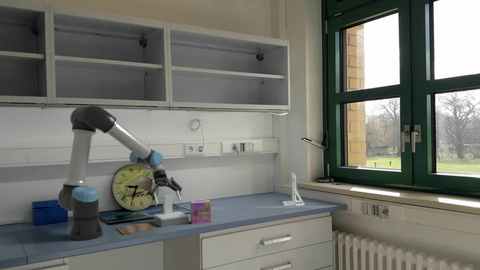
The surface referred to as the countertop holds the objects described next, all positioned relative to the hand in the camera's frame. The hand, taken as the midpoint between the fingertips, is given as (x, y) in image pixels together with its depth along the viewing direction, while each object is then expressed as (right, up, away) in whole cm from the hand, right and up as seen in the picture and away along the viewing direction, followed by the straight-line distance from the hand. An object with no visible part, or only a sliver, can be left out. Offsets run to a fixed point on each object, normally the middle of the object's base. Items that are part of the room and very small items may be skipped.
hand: (168, 202), depth 209 cm
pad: (-14, -11, -14) cm, 23 cm away
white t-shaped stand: (+2, -7, -5) cm, 8 cm away
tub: (+2, -11, -4) cm, 12 cm away
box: (+18, -11, -4) cm, 21 cm away
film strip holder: (+75, -9, +45) cm, 88 cm away
